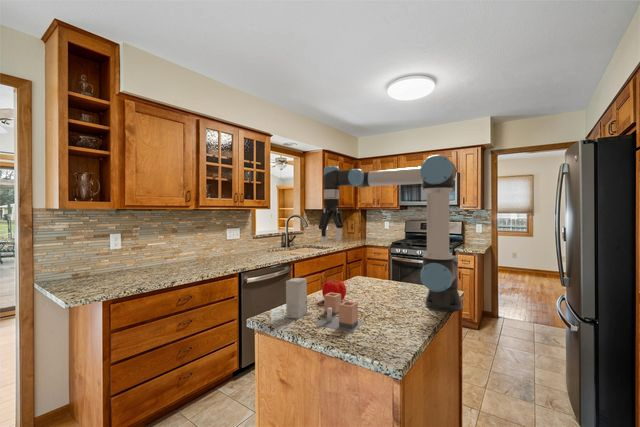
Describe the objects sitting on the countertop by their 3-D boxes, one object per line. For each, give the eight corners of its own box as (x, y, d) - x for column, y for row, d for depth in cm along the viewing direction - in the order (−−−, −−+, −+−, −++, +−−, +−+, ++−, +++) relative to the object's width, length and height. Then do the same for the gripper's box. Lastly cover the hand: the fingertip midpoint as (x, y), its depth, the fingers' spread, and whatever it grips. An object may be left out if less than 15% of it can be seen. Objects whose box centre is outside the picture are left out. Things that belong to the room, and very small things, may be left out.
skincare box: (298, 319, 122) (298, 282, 122) (285, 317, 124) (285, 280, 124) (307, 313, 130) (307, 277, 130) (295, 311, 132) (294, 276, 132)
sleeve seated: (357, 324, 115) (357, 302, 115) (351, 329, 110) (351, 306, 110) (345, 321, 117) (345, 300, 117) (339, 326, 113) (338, 304, 113)
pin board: (364, 324, 116) (364, 309, 116) (352, 334, 107) (351, 318, 107) (327, 316, 125) (327, 303, 125) (313, 325, 115) (312, 310, 115)
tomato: (323, 297, 153) (323, 276, 153) (346, 297, 152) (346, 277, 152) (321, 304, 141) (320, 282, 141) (346, 305, 140) (346, 282, 140)
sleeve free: (341, 312, 129) (341, 293, 129) (335, 316, 125) (335, 296, 125) (330, 310, 132) (330, 292, 132) (324, 314, 128) (324, 295, 128)
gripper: (336, 199, 163) (337, 239, 163) (311, 198, 141) (311, 244, 142) (349, 199, 159) (349, 240, 159) (325, 197, 137) (325, 245, 138)
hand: (331, 242), depth 150 cm, fingers open, 13 cm apart
